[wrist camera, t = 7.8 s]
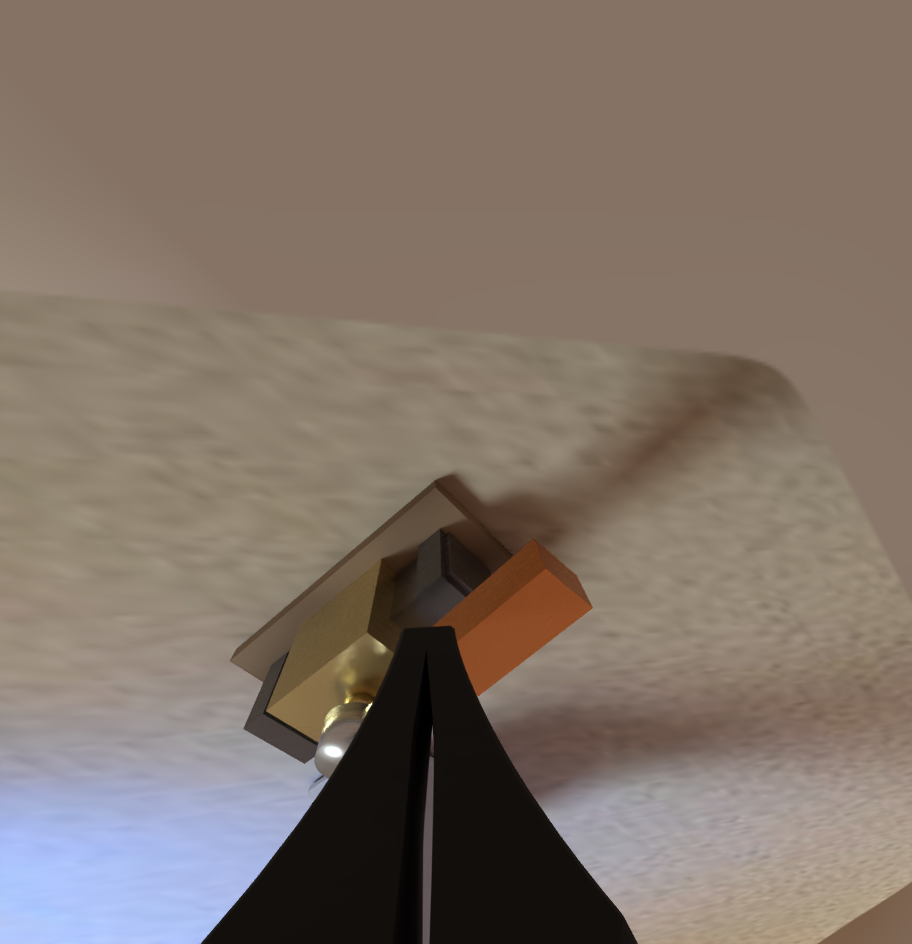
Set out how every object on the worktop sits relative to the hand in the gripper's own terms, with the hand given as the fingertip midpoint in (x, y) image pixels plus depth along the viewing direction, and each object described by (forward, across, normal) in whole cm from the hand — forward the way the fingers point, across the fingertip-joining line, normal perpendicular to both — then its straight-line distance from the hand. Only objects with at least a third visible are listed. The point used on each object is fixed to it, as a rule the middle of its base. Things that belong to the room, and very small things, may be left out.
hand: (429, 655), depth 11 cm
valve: (+10, +3, +7) cm, 12 cm away
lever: (+3, 0, +3) cm, 5 cm away
